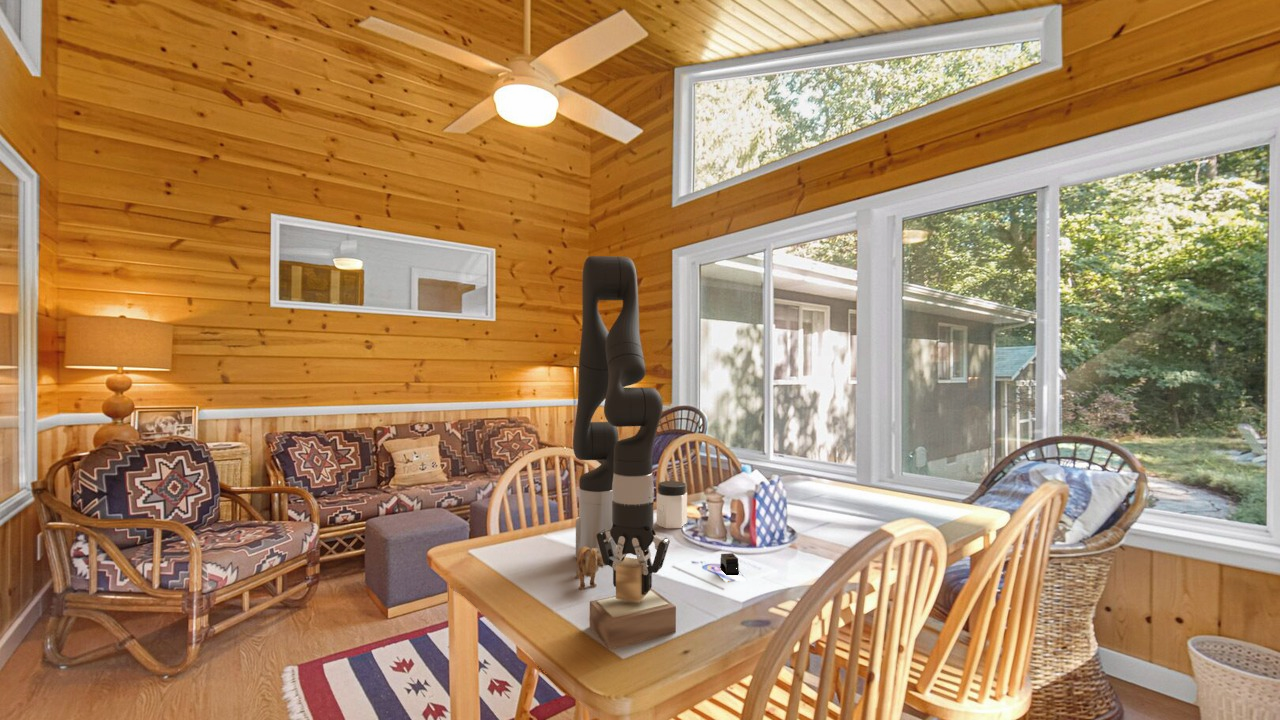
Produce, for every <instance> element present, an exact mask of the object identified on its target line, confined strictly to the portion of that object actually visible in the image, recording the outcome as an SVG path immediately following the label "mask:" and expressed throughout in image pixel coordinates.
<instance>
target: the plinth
mask: <svg viewBox="0 0 1280 720" xmlns="http://www.w3.org/2000/svg"><path fill="white" fill-rule="evenodd" d="M676 606H677V605H675V604H673V603H672V601H671V602H670V601H669V600H668V599H666V598H665V597H664V596H663V595H661V594H660V593H659V592H657V591H656V590H655V589H653V588H652V587H651V589H650V591H649V592H648V594H647V595H646V596H645V597H644V598H643V599H642V600H641V601H640V602H639V603H638V602H632V601H627V600H621V599H616V595H613V596H609V597H604V598H599V599H594V600H590V601H589V628H590V629H591V630H592V631H593V633H595V634H596V636H597V637H598V638H599V639H600V640H601V641H602V642H603V643H604V644H605V645H606V646H607V648H609V649H610V650H612V649H616V648H620V647H623V646H627V645H632V644H636V643H639V642H644V641H647V640H652V639H655V638H659V637H663V636H667V635H671V634H674V633H676V632H677V607H676Z"/></svg>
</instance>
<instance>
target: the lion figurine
mask: <svg viewBox="0 0 1280 720" xmlns="http://www.w3.org/2000/svg"><path fill="white" fill-rule="evenodd" d="M576 566H577V571H576V574H575V575H574V579H579V587H578V589H579V590H585V589H586V584H585V577H588V578H590V580H589V585H590V587H591V588H596V587H597V586H598V585H597V583H595V578H596V573H597V572H598V571H599V568H601V569H603V568H604V566H605V565H604V563H603V559H602V556H601V554H599V553H598V549H596V548H591V549H590V548H588V547H585V546H584V547H582V548H580V550H579V552H578V557H577V559H576Z"/></svg>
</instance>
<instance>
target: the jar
mask: <svg viewBox="0 0 1280 720" xmlns="http://www.w3.org/2000/svg"><path fill="white" fill-rule="evenodd" d="M657 485H658V486H657V490H658V491H657V493H656V526H659V527H662V528H664V529H666V530H667V529H682V528H683V527H684V526H683V525H684V524H686V523H687V524H688V492H687V490H686V489H687V484H686V483H685V482H683V481H677V480H665V481H664V480H663V481H659V482H658V483H657ZM687 524H686V525H687ZM682 526H683V527H682Z"/></svg>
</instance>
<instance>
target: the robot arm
mask: <svg viewBox="0 0 1280 720" xmlns="http://www.w3.org/2000/svg"><path fill="white" fill-rule="evenodd" d="M637 276H638V275H637V270H636V266H635V263H634V261H633V259H631V258H630V257H625V256H609V255H608V256H604V255H603V256H601V255H600V256H599V255H590V256H588V257H586V259H585V261H584V263H583V268H582V282H581V283H582V284H581V285H582V289H581V290H582V294H581V295H582V297H581V299H582V301H581V302H582V306H581V307H582V309H581V311H582V313H581V314H582V317H581V318H582V320H581V321H582V324H581V336H580V337H581V339H580V347H579V348H580V349H579V357H578V358H579V359H578V360H579V361H578V379H577V380H578V381H577V383H578V384H577V385H578V387H577V388H578V389H577V407H576V413H575V421H574V428H573V429H574V430H573V438H572V447H573V453H574V456H575V458H576V459H578V460H579V461H602V463H601V464H600V465H599V466H598V467H596V468H594V469H592V470H590V471H587V472H585V473H583V474H581V475H580V476H579V481H578V487H579V490H578V495H579V496H578V497H579V498H578V499H579V501H578V512H579V514H578V516H579V517H578V518H576V520H575V559H576V560H577V557H578V552H579V550H580V548H582V547H584V546H585V547H588V548H590V549H591V548H596V549H598V553H599V554H601V556H602V559H603V563H604V566H609V567H611V569H612V582H613V583H612V585H613V587H615V588H616V565H617V564H618V563H621V561H622V560H624V559H625V557H626V556H627V555H629V554H630V555H633V556H636V559H637V560H638V562H639V563H640V566H641V570H642V573H643V574H642V595H646V594H647V593H648V592H649V591H650V589H651V588H652V586H653V584H652V581H653V580H652V579H653V577H652V575H653V573H654V574H656V573H658V572H659V571H660V570H661V569H662V567H663V565H664V562H665V559H666V555H667V552H668V548H669V545H670V543H671V541H670V539H669V537H664V538H663V537H661V536H658V535H656V531H655V529H654V497H655V490H654V487H655V485H654V478H653V477H654V476H653V453H654V452H653V450H654V443H655V439H656V436H657V435H656V434H657V432H658V427H659V424H660V420H661V417H662V413H663V408H664V407H663V404H664V402H663V400H662V398H663V397H662V396H661V394H660V392H659V391H658V390H657V389H656V388H654V387H648V386H647V387H641V386H640V387H629V386H632V385H635V384H637V383H640V382H641V381H642V380H643V379H644V378H645V376H646V362H645V358H644V353H643V352H644V351H643V349H642V342H641V341H642V340H641V334H640V314H639V313H640V308H639V306H640V305H639V288H638V277H637ZM599 301H622V307H621V310H620V312H619V314H618V315H617V318H616V319H615V322H614V323H613V324H612V326H611V327H610V329H609V330H608V329H607V326H606V325H605V323H604V321H603V318H602V316H601V314H600V311H599V306H598V305H599V304H598V303H599ZM603 402H604V405H603V414H604V417H605V419H606V420H607V421H592V419H593V416H594V414H595V412H596V411H597V410H598V408H599V406H601V404H602V403H603ZM618 427H619V428H620V427H621V428H625V427H626V428H627V427H639V429H638V431H637V432H636V434H635V435H633V436H630V437H627V438H623V439H619V430H618ZM652 543H653V544H654V549H655V550H656V552H655V555H654V559H653V563H652V557H651V556H652V555H651V550H650V546H651V544H652Z"/></svg>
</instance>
